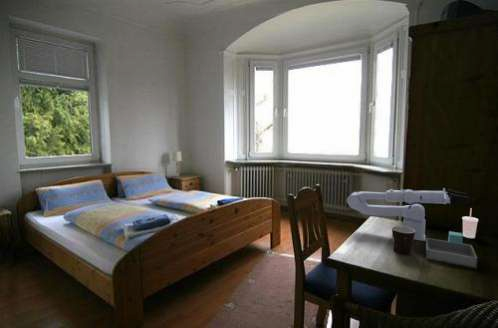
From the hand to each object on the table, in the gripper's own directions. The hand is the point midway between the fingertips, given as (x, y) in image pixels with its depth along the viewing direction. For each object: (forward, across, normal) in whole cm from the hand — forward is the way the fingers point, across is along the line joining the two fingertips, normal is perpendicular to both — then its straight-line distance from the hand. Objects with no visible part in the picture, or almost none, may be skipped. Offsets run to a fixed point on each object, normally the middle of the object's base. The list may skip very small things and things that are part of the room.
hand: (468, 197), depth 123 cm
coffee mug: (-26, -23, +20) cm, 40 cm away
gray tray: (-9, -17, +21) cm, 28 cm away
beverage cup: (+1, +14, +22) cm, 26 cm away
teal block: (-6, -4, +21) cm, 23 cm away
